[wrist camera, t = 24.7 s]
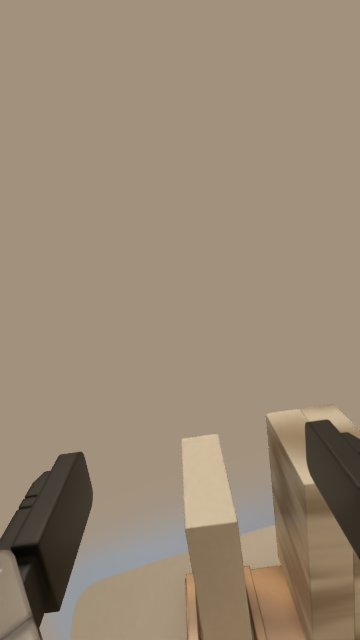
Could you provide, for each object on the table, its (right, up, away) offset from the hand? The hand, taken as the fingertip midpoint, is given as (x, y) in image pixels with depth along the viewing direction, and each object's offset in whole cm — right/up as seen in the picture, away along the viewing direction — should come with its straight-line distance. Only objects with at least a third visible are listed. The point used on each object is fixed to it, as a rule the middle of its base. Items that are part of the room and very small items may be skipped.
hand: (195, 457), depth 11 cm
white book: (+4, -23, +16) cm, 28 cm away
